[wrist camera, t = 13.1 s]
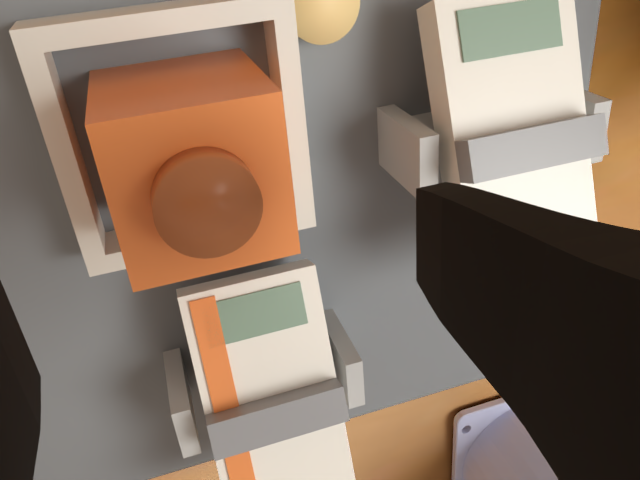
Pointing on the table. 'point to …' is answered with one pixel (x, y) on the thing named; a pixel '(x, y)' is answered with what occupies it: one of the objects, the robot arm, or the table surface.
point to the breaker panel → (162, 304)
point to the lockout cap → (193, 165)
